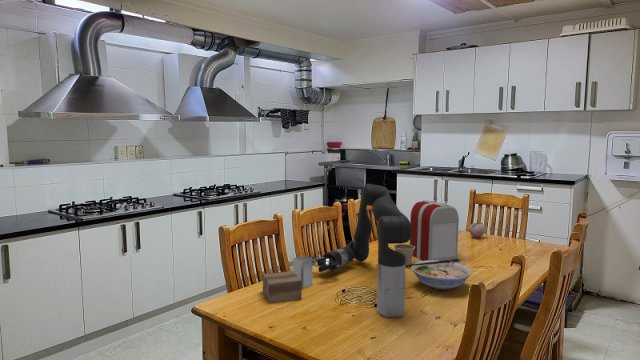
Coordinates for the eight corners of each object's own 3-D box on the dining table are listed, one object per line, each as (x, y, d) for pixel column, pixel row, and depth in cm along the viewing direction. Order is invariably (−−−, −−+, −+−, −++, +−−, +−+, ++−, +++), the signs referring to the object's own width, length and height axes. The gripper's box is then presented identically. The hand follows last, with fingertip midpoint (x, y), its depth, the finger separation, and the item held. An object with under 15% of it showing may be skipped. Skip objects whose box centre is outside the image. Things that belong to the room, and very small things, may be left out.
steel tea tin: (312, 284, 177) (312, 258, 175) (303, 288, 173) (303, 261, 171) (302, 281, 180) (302, 255, 179) (293, 285, 176) (293, 258, 175)
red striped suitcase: (435, 251, 227) (437, 199, 223) (458, 260, 210) (460, 204, 207) (408, 254, 221) (409, 200, 217) (428, 264, 204) (430, 206, 201)
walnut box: (301, 299, 161) (301, 280, 161) (269, 303, 158) (269, 284, 157) (293, 288, 173) (293, 270, 172) (262, 291, 169) (262, 273, 168)
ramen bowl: (426, 300, 161) (426, 278, 160) (398, 279, 183) (399, 260, 182) (485, 294, 168) (486, 273, 167) (452, 274, 189) (452, 256, 189)
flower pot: (414, 268, 197) (415, 250, 196) (393, 267, 199) (393, 248, 198) (414, 262, 207) (414, 244, 206) (394, 261, 208) (394, 243, 208)
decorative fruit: (474, 235, 260) (474, 219, 259) (487, 238, 253) (487, 221, 252) (465, 238, 254) (466, 221, 253) (478, 240, 247) (479, 223, 246)
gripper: (323, 247, 196) (298, 255, 184) (349, 253, 187) (324, 261, 174) (323, 263, 197) (298, 272, 184) (348, 270, 188) (324, 280, 175)
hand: (311, 267), depth 179 cm, fingers open, 8 cm apart
